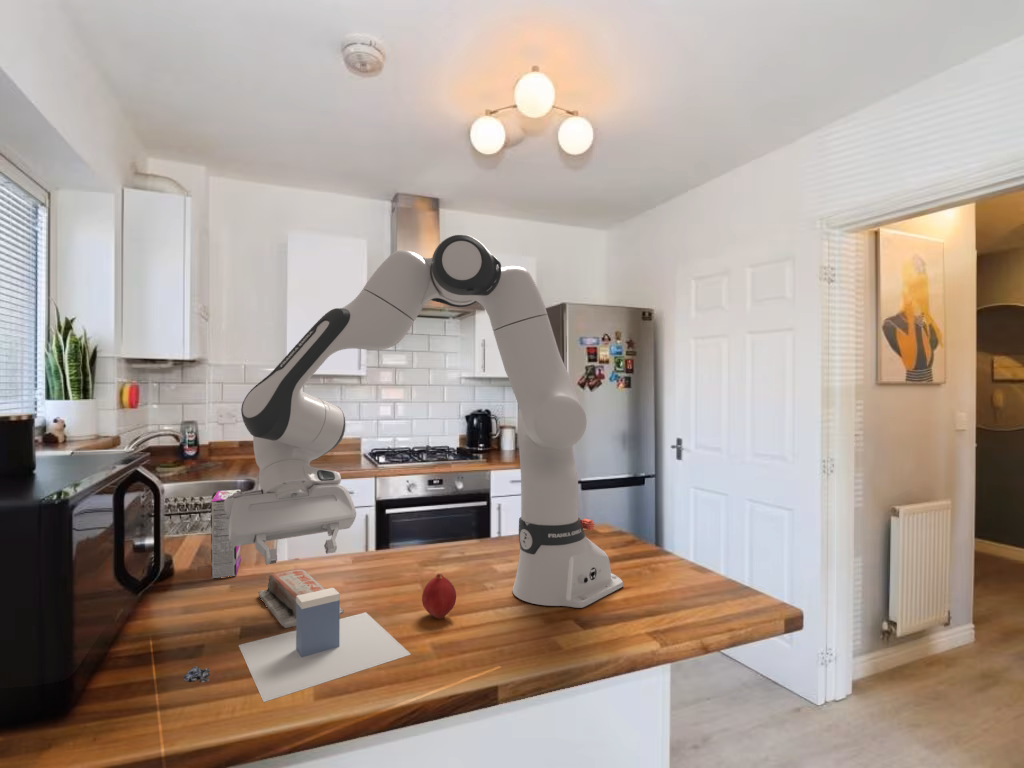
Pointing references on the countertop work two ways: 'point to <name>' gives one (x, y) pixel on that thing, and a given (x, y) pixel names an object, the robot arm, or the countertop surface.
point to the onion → (439, 596)
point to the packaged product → (288, 594)
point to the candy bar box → (222, 539)
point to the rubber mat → (318, 657)
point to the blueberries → (197, 675)
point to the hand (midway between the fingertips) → (302, 556)
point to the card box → (317, 621)
